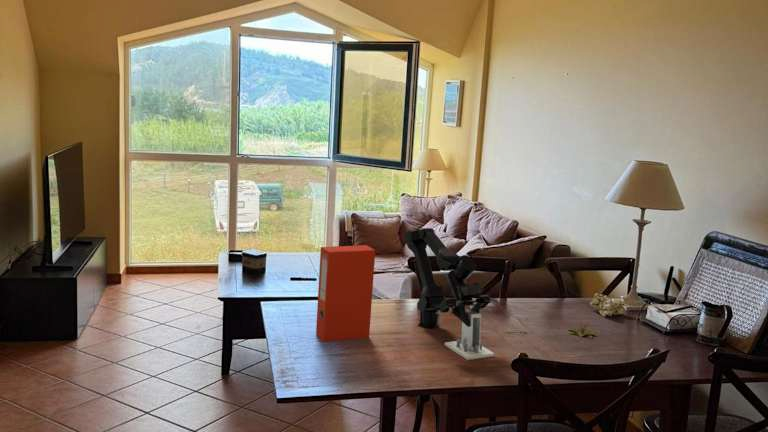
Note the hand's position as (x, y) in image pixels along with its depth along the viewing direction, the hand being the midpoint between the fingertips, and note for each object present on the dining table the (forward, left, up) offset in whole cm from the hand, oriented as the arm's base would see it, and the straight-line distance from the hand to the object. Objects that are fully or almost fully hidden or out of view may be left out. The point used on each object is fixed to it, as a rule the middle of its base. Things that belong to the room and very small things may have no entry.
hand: (473, 325), depth 228 cm
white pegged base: (-1, +1, -9) cm, 10 cm away
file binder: (-44, -11, -10) cm, 47 cm away
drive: (-1, 0, -8) cm, 8 cm away
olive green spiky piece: (+32, +44, -10) cm, 55 cm away
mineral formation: (+37, +78, -10) cm, 87 cm away
